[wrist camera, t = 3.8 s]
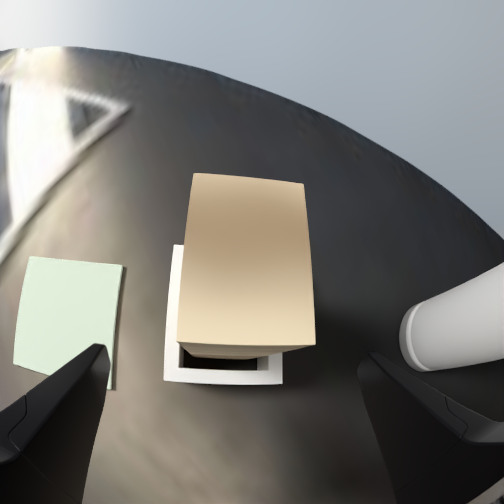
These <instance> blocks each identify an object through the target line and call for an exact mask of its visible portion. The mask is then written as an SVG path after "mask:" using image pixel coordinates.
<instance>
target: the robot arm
mask: <svg viewBox="0 0 504 504" xmlns="http://www.w3.org/2000/svg"><path fill="white" fill-rule="evenodd" d="M110 369H111V362H110V358H109V354H108V350H107V347H106V345H104V344H99V343H94V344H92V345H91V346H89V347H88V348H87V349H85V350H84V351H82V352H81V353H80V354H78V355H77V356H76V357H74V358H73V359H72V360H70V361H69V362H67V363H66V364H65V365H63V366H62V367H61V368H59V369H58V370H57V371H55V372H54V373H53V374H51V375H50V376H49V377H47V378H46V379H45V380H43V381H42V382H41V383H39V384H38V385H37V386H35V387H34V388H33V389H31V390H30V391H29V392H27V393H26V395H23V396H22V397H21V398H19V399H18V400H17V401H15V402H14V403H13V404H11V405H10V406H8V407H7V408H5V409H4V410H2V411H1V412H0V504H82V500H83V494H84V488H85V483H86V477H87V472H88V468H89V463H90V458H91V454H92V450H93V445H94V441H95V437H96V433H97V429H98V426H99V422H100V418H101V415H102V411H103V407H104V402H105V396H106V390H107V385H108V379H109V374H110ZM357 374H358V378H359V382H360V386H361V390H362V394H363V398H364V403H365V406H366V409H367V412H368V415H369V418H370V421H371V424H372V426H373V429H374V432H375V435H376V438H377V441H378V444H379V447H380V450H381V453H382V456H383V459H384V462H385V465H386V468H387V472H388V475H389V478H390V481H391V485H392V488H393V491H394V494H395V498H396V502H397V504H504V422H495V421H492V420H490V419H488V418H486V417H484V416H482V415H480V414H478V413H476V412H474V411H472V410H470V409H468V408H466V407H464V406H462V405H460V404H458V403H457V402H455V401H453V400H452V399H450V398H449V397H447V396H444V394H442V393H440V392H439V391H437V390H436V389H434V388H432V387H431V386H429V385H428V384H426V383H424V382H423V381H421V380H420V379H418V378H417V377H415V376H413V375H412V374H410V373H409V372H407V371H405V370H404V369H402V368H401V367H399V366H398V365H396V364H394V363H393V362H391V361H390V360H388V359H387V358H385V357H384V356H382V355H380V354H379V353H377V352H375V351H373V352H366V353H365V354H364V355H363V358H362V360H361V362H360V364H359V366H358V370H357Z"/></svg>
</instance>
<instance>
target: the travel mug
mask: <svg viewBox="0 0 504 504" xmlns="http://www.w3.org/2000/svg"><path fill="white" fill-rule="evenodd" d="M399 343H400V349H401V352H402V355H403V357H404V359H405V361H406V362H407V363H408V365H409V366H411V367H412V368H413V369H415V370H417V371H421V372H425V371H433V370H442V369H449V368H456V367H462V366H468V365H474V364H479V363H484V362H489V361H494V360H498V359H503V358H504V263H502V264H500V265H498V266H497V267H495V268H493V269H491V270H489V271H487V272H485V273H483V274H481V275H479V276H478V277H476V278H474V279H472V280H470V281H468V282H466V283H463V284H461V285H459V286H457V287H455V288H453V289H451V290H449V291H446V292H444V293H442V294H440V295H438V296H435V297H433V298H431V299H428V300H427V301H424V302H421V303H419V304H417V305H415V306H413V307H411V308H410V309H409V310H408V311H407V313H406V314H405V316H404V318H403V320H402V323H401V326H400V332H399Z"/></svg>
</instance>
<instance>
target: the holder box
mask: <svg viewBox="0 0 504 504" xmlns="http://www.w3.org/2000/svg"><path fill="white" fill-rule="evenodd" d="M183 250H184V245H174V250H173V258H172V267H171V276H170V286H169V297H168V308H167V322H166V337H165V357H164V380H165V381H176V382H189V383H205V384H236V385H260V384H282V353H277V354H272V355H268V356H263V357H258V358H257V370H216V369H197V368H183V358H184V348H183V347H182V346H181V345H180V344H179V343H177V342H176V338H177V320H178V306H179V293H180V281H181V270H182V260H183Z"/></svg>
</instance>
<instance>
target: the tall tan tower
mask: <svg viewBox="0 0 504 504" xmlns="http://www.w3.org/2000/svg"><path fill="white" fill-rule="evenodd" d="M176 342H177V343H179V344H180V345H181V346H182V347H183V348H184V349H185V350H187V351H188V352H189V353H190V354H191V355H192V356H193V357H195V358H212V359H241V360H247V359H252V358H258V357H263V356H268V355H272V354H277V353H282V352H286V351H291V350H295V349H299V348H304V347H308V346H312V345H315V319H314V300H313V283H312V269H311V256H310V244H309V233H308V222H307V213H306V203H305V194H304V186H303V184H300V183H292V182H284V181H276V180H268V179H259V178H249V177H239V176H228V175H216V174H202V173H194V175H193V182H192V188H191V195H190V202H189V209H188V217H187V225H186V233H185V241H184V250H183V260H182V270H181V281H180V293H179V306H178V320H177V338H176Z"/></svg>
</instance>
